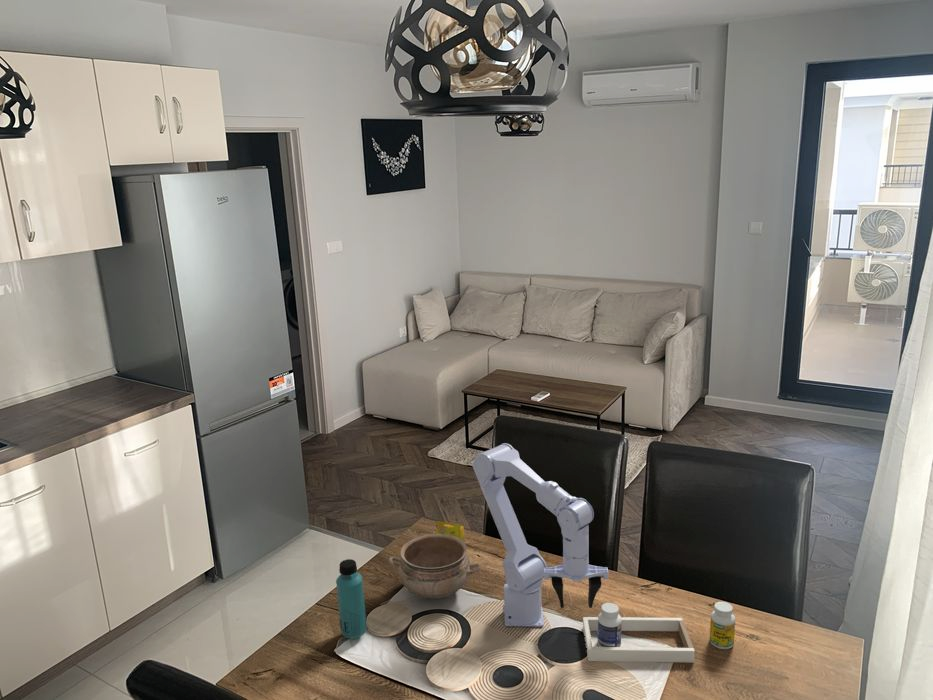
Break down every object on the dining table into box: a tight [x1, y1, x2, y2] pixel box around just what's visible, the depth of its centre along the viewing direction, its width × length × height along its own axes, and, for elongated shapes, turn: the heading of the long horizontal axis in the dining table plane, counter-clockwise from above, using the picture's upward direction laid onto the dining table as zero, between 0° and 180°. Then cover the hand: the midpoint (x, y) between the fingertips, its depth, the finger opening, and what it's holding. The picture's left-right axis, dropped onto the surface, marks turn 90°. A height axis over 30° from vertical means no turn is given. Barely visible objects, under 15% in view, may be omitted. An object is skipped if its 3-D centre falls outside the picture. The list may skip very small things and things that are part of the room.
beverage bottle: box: [335, 558, 368, 639], centre depth 169 cm, size 6×7×20 cm
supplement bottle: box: [709, 601, 736, 650], centre depth 163 cm, size 5×5×10 cm
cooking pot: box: [388, 533, 482, 600], centre depth 187 cm, size 25×19×12 cm
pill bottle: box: [597, 602, 622, 647], centre depth 164 cm, size 5×5×10 cm
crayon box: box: [436, 520, 466, 544], centre depth 203 cm, size 7×3×12 cm, turn 69°
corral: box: [582, 616, 696, 663], centre depth 164 cm, size 24×12×3 cm, turn 87°
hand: (576, 605), depth 163 cm, fingers open, 6 cm apart
